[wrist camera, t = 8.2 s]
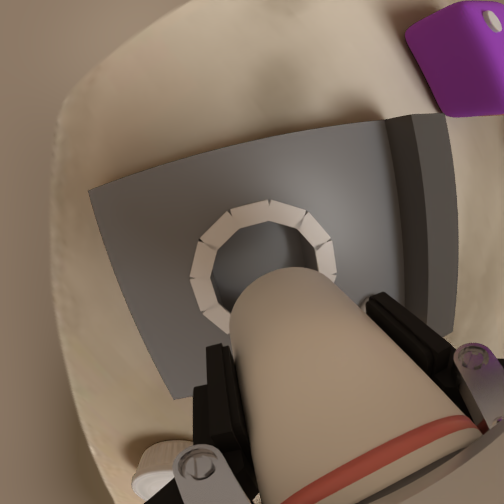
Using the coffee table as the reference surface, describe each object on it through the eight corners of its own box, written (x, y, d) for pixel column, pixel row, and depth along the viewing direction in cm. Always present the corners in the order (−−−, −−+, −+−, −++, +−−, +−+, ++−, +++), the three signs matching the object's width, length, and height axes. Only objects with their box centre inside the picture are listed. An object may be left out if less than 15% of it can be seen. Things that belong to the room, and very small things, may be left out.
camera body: (387, 122, 21) (444, 113, 14) (406, 297, 25) (452, 331, 19) (108, 186, 19) (66, 195, 13) (177, 369, 24) (171, 427, 17)
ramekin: (248, 449, 28) (255, 485, 23) (204, 487, 30) (206, 517, 25) (156, 419, 26) (151, 459, 21) (125, 463, 27) (120, 495, 22)
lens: (337, 251, 12) (531, 402, 3) (348, 349, 13) (459, 504, 4) (213, 286, 11) (245, 549, 2) (245, 382, 13) (293, 576, 4)
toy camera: (497, 83, 21) (560, 77, 11) (449, 138, 22) (532, 139, 12) (448, 5, 18) (507, -20, 8) (385, 40, 19) (460, 0, 9)
